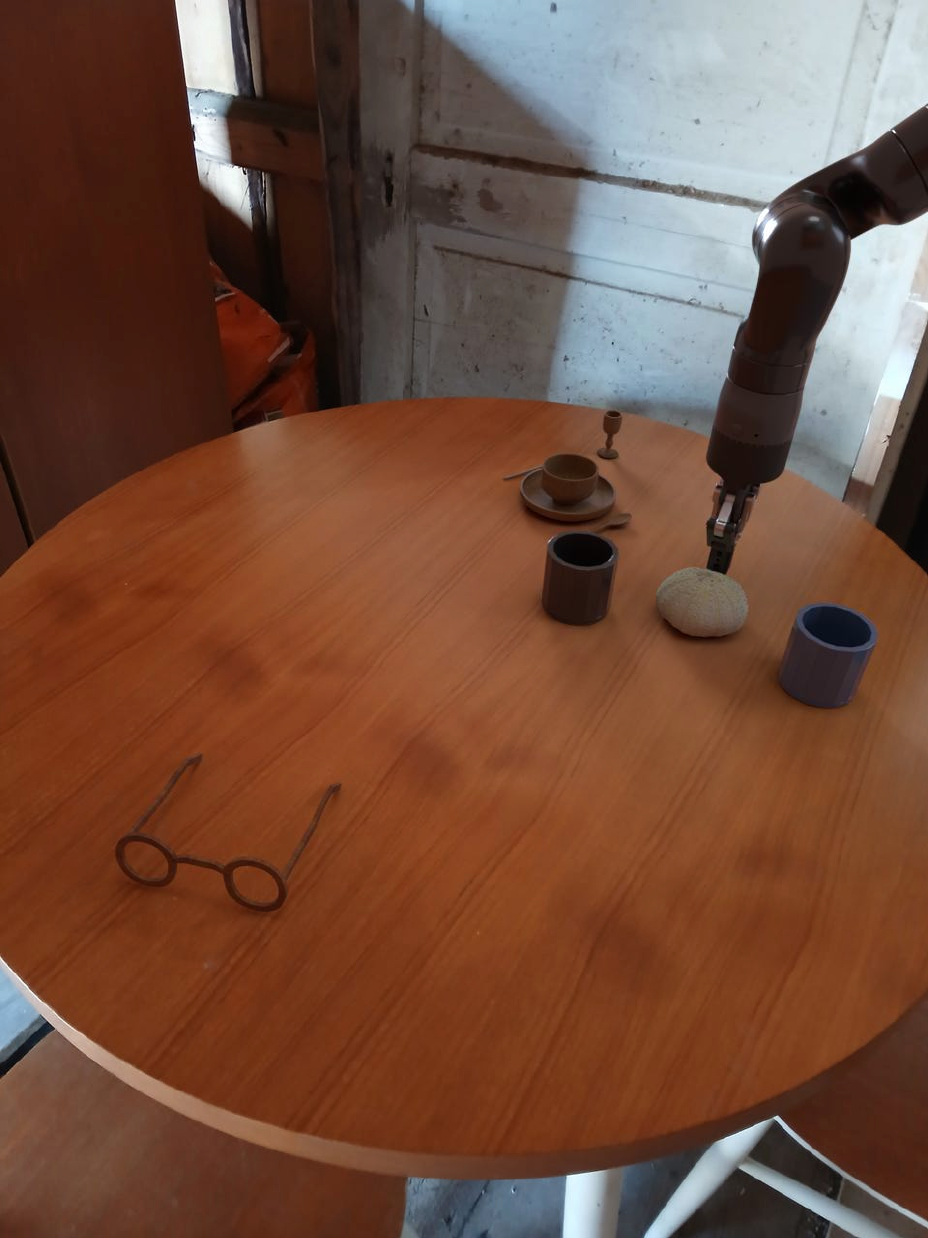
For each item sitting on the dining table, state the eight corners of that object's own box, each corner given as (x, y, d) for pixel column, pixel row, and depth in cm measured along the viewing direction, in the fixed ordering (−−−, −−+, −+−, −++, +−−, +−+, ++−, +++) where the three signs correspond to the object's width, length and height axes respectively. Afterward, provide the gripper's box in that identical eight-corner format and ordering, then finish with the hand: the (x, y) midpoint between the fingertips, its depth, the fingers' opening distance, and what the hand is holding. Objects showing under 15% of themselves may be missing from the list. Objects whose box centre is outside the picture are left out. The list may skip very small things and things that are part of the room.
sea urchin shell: (682, 562, 99) (739, 540, 93) (715, 625, 100) (774, 608, 93) (632, 596, 94) (688, 575, 87) (667, 662, 94) (726, 646, 88)
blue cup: (859, 673, 89) (882, 617, 84) (848, 718, 84) (871, 660, 79) (785, 649, 91) (804, 594, 87) (770, 692, 86) (788, 635, 82)
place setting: (486, 481, 116) (489, 439, 112) (606, 445, 125) (611, 405, 121) (571, 547, 104) (577, 502, 101) (696, 502, 113) (705, 460, 110)
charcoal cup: (618, 596, 97) (628, 542, 93) (594, 633, 92) (603, 577, 88) (557, 577, 100) (563, 523, 95) (530, 611, 95) (536, 556, 90)
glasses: (119, 882, 67) (105, 839, 64) (198, 756, 77) (189, 714, 74) (286, 921, 65) (280, 878, 62) (345, 786, 75) (342, 744, 72)
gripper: (778, 462, 80) (736, 615, 91) (808, 405, 89) (766, 549, 100) (696, 442, 83) (664, 592, 94) (733, 388, 92) (700, 531, 103)
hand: (717, 570), depth 97 cm, fingers closed
